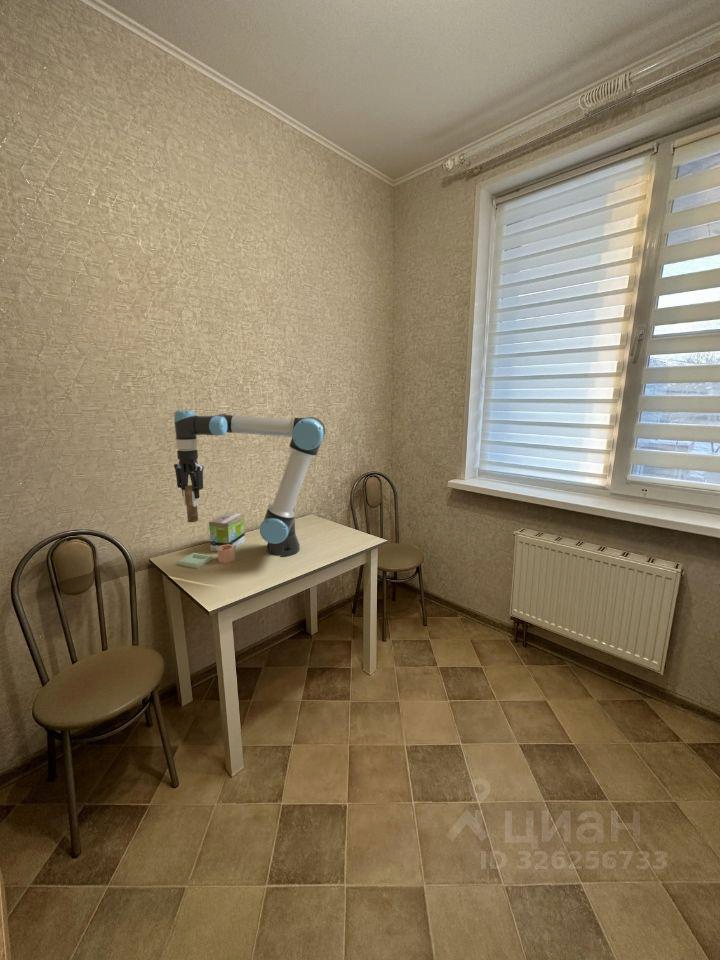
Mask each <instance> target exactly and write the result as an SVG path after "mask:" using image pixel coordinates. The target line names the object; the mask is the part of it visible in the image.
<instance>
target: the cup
mask: <svg viewBox="0 0 720 960" xmlns="http://www.w3.org/2000/svg"><path fill="white" fill-rule="evenodd" d="M216 552H217V560H218V563H221V564H229V563H232V562H233V561H235V560H236V558H235V557H236V556H235V548H234V546H233V545H229V544H227V545H221V546H219V547H218V548H217V551H216Z"/></svg>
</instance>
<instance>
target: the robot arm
mask: <svg viewBox="0 0 720 960" xmlns="http://www.w3.org/2000/svg"><path fill="white" fill-rule="evenodd" d="M173 416H174V429H175V440H176V441H175V443H176V444H175V445H176V449H177V451H176V454H177V459H178V460H179V461H178V463H175V464H173V467H174V470H175V476H176V477H175V478H176V486H177V488H180V489H181V492H182V493H181V494H182V497H183V505H184V506H187V505H186V493H185V486H187V485H189V478H190V483H191V485H192V487H193V490H192V502H193V507H195V506H197V507H198V506H199V505H200V500H199V499H200V490H203V489H204V467H205V466H203V465H200V464H199V463H198V458H199V453H198V450H197V449H198V442H197V441H198V440H197V436H224V435H226V434H227V433H228V434H229V433H231V434H232V433H234V434H245V435H246V434H247V435H256V436H257V435H259V436H271V437H284V438H291V439H290V442H289V446H288V447H289V449H290V451H291V452H290V454H289V457H288V461H287V463H286V465H285V467H284V470H283V471H284V472H283V475H282V477H281V481H280V483H279V486H278V489H277V493H276V494H275V497H274V500H273V502H271V503H269V504H268V505H267V509H266V512H265V515H264V518H263V521H262V522H261V524H260V526H259V534H260V536H261V538H262V539H263V540H264V541H265V542H267V544H266V552H267V553H268V554H270V555H272V556H279V557H289V556H293V555H295V554H297V553H298V552H299V551H300V550H301V549H300V548H301V545H300V542H299V538H298V537H297V534H296V512H295V510H296V509H295V505H296V503H297V500H298V498H299V495H300V491H301V488H302V485H303V483H304V481H305V477H306V475H307V472H308V469H309V466H310V464H311V461H312V458H314V457H317V456H318V453H319V450H320V447H321V444H322V442H323V439H325V435H326V427H325V424H324V423H323V422H322V421H321V419H319V418H317V417H313V416H308V417H293V418H292V419H288V418H287V419H286V418H276V417H275V418H273V417H262V416H261V417H259V416H247V415H233V414H232V415H231V414H227V413H226V414H225V413H219V414H215V415H196V413H195V411H194V410H185V409H184V410H182V409H181V410H175V412H174V415H173Z"/></svg>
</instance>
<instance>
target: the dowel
mask: <svg viewBox="0 0 720 960" xmlns="http://www.w3.org/2000/svg"><path fill="white" fill-rule="evenodd" d="M192 490H193V487H192V484H188V485H187V486H185V493H186V505H185V506H186V517H187V522H188V523H196V522H198V521H199V515H198V514H199V513H198V506H195V507H193V502H192Z"/></svg>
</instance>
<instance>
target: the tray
mask: <svg viewBox="0 0 720 960" xmlns="http://www.w3.org/2000/svg"><path fill="white" fill-rule="evenodd" d="M212 560H213V555H208V554H203V553H197V552H192V553H191V554H189V555H187V556H184V557H183V558H180V559H179V560H177V564H178V566H184V567H188V568H194V569H198V568H201V567H202V566H203V565H206V564H207V563H209V562H211V561H212Z"/></svg>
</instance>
